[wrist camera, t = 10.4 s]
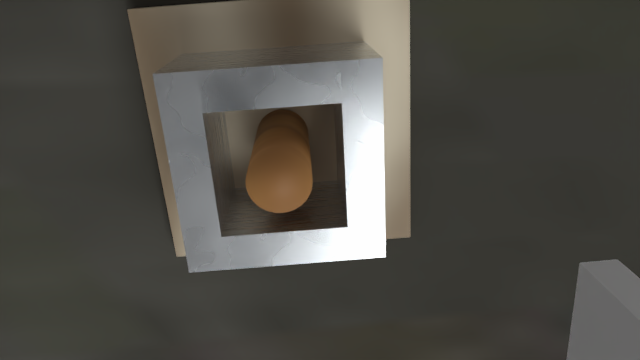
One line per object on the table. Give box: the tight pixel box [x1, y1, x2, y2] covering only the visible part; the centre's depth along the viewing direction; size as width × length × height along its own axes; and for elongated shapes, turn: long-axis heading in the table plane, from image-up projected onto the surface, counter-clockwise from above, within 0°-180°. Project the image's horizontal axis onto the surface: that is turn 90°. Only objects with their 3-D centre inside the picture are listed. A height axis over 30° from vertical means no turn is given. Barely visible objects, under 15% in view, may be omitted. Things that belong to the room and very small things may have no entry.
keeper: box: [127, 0, 410, 257], centre depth 21 cm, size 12×12×7 cm
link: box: [153, 41, 386, 273], centre depth 21 cm, size 8×8×5 cm
